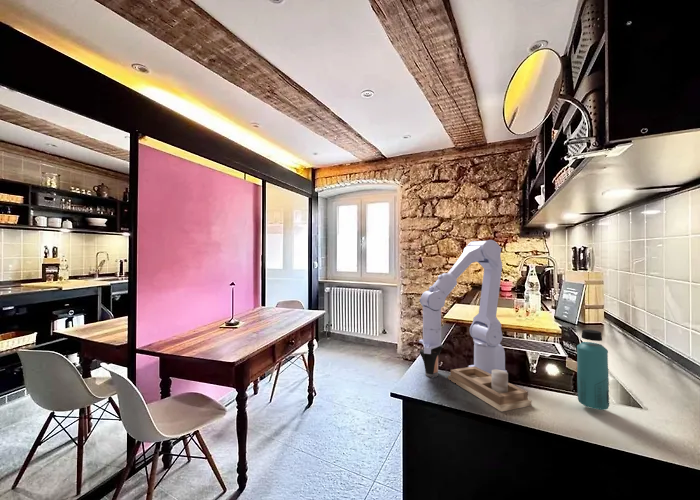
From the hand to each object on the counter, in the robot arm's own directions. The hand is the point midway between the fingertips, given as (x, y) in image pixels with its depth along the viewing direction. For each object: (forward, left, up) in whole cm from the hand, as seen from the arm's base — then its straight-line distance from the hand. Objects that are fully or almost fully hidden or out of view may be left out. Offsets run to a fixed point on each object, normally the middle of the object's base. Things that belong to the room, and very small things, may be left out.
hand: (431, 370), depth 99 cm
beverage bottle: (-26, +32, -2) cm, 41 cm away
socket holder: (-8, +15, -2) cm, 17 cm away
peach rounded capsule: (0, 0, -2) cm, 2 cm away
